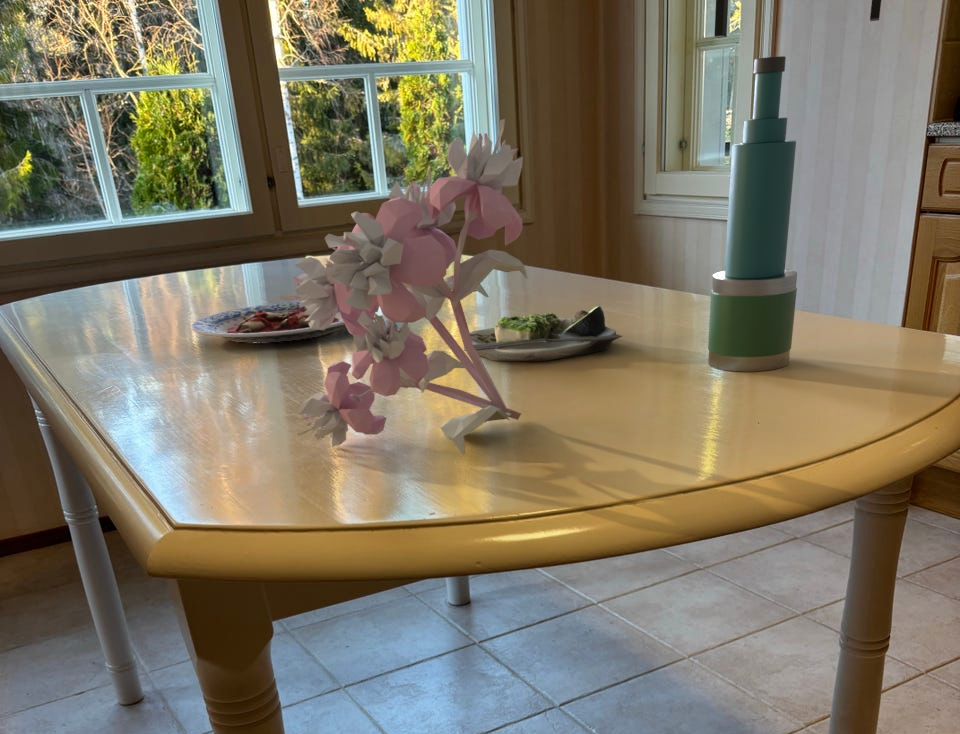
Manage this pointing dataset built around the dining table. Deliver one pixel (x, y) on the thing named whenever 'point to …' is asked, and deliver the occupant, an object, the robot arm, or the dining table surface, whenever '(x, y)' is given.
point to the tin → (751, 322)
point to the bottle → (761, 183)
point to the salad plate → (544, 337)
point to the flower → (411, 292)
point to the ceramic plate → (263, 324)
